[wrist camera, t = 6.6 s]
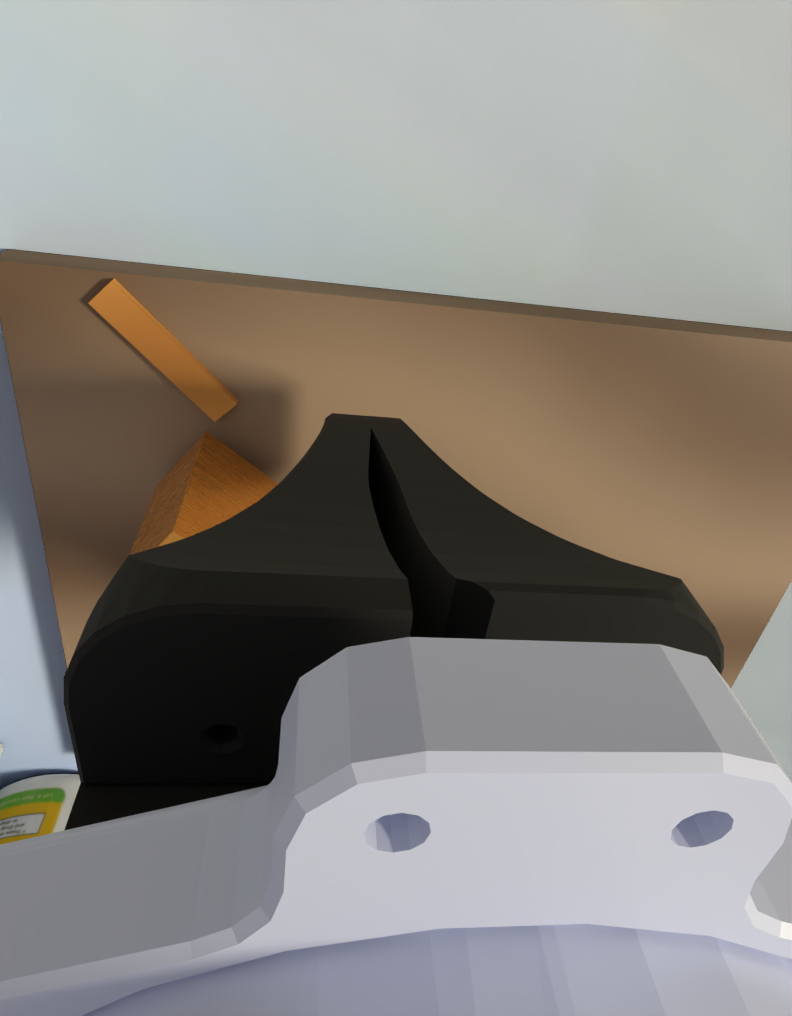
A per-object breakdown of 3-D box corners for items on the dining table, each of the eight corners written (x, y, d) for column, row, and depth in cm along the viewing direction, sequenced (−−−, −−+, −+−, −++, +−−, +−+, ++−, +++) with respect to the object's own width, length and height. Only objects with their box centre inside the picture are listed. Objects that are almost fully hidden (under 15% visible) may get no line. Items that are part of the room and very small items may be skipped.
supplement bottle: (-29, 852, 22) (-241, 1320, 14) (-5, 751, 19) (-248, 1249, 11) (140, 877, 23) (41, 1307, 15) (183, 786, 21) (91, 1245, 13)
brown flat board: (670, 754, 22) (684, 781, 21) (95, 750, 19) (85, 781, 19) (891, 342, 15) (926, 358, 14) (8, 249, 12) (-17, 261, 11)
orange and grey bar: (632, 673, 18) (689, 786, 15) (491, 766, 20) (519, 883, 17) (261, 370, 12) (243, 457, 10) (110, 535, 14) (56, 651, 11)
